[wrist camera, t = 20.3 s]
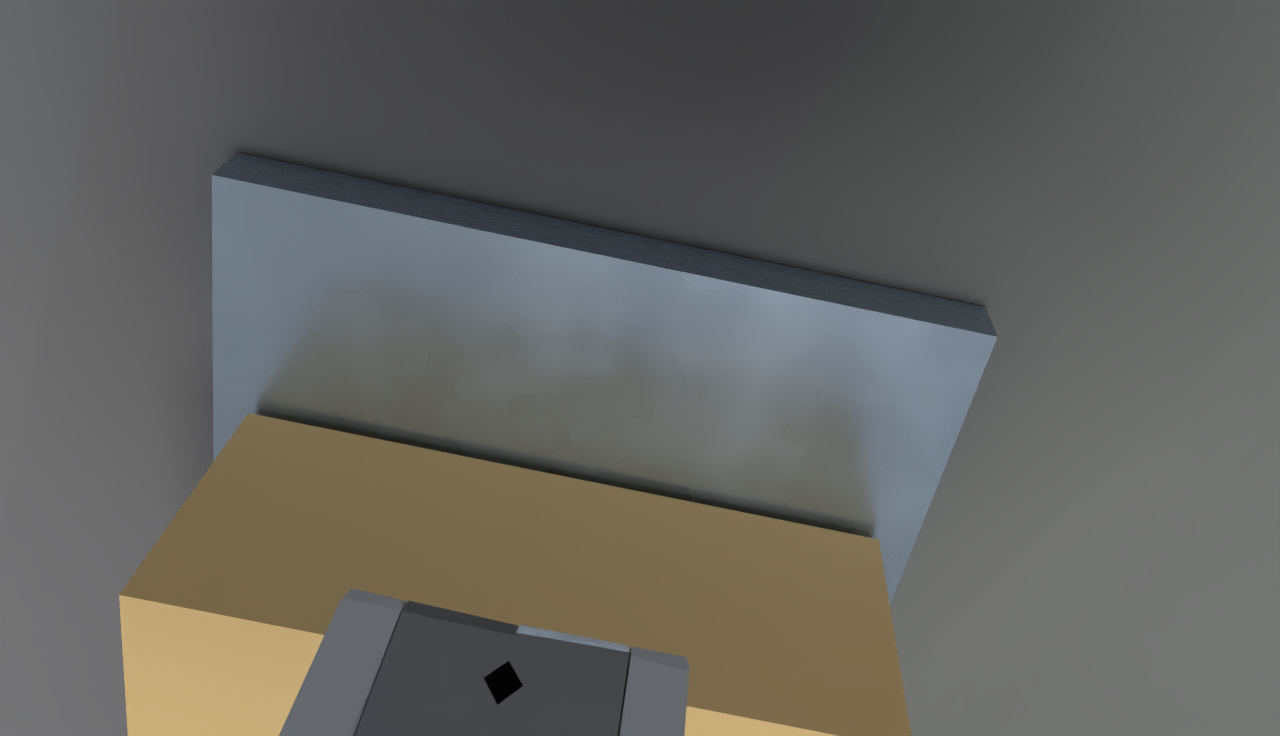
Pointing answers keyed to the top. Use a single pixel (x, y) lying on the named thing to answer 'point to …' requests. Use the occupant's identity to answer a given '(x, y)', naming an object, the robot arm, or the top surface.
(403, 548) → the block
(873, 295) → the vise base
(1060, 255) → the top surface
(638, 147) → the top surface
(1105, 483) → the top surface
